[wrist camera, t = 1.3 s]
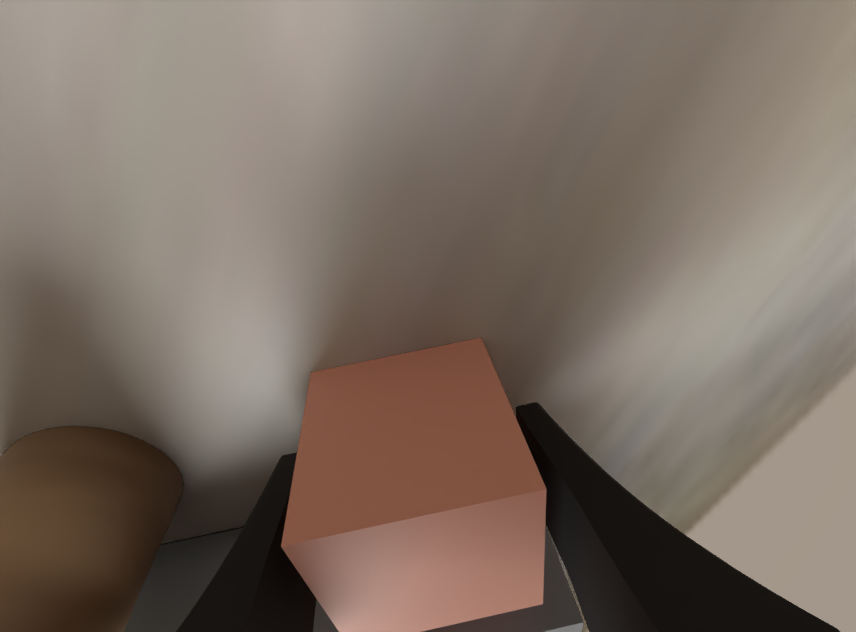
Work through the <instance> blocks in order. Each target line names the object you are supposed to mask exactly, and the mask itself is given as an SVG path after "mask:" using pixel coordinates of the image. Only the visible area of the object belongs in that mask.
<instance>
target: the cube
mask: <svg viewBox="0 0 856 632" xmlns="http://www.w3.org/2000/svg"><path fill="white" fill-rule="evenodd" d="M545 523H546V487H545V484H544V482H543V480H542V477H541V475H540V473H539V470H538V468H537V466H536V463H535V461H534V459H533V456H532V454H531V452H530V450H529V447H528V445H527V443H526V440H525V438H524V436H523V433H522V431H521V429H520V426H519V424H518V422H517V419H516V417H515V415H514V412H513V410H512V408H511V405H510V403H509V401H508V398H507V396H506V394H505V391H504V389H503V387H502V384H501V382H500V380H499V377H498V375H497V373H496V370H495V368H494V366H493V363H492V361H491V359H490V356H489V354H488V352H487V350H486V347H485V345H484V343H483V340H482V338H477V339H472V340H467V341H462V342H457V343H452V344H447V345H442V346H437V347H433V348H428V349H423V350H418V351H413V352H408V353H403V354H398V355H393V356H388V357H383V358H378V359H373V360H369V361H364V362H359V363H354V364H349V365H344V366H339V367H334V368H329V369H324V370H319V371H314V372H311V375H310V381H309V386H308V392H307V398H306V404H305V410H304V415H303V421H302V427H301V433H300V439H299V445H298V450H297V456H296V462H295V468H294V474H293V479H292V485H291V491H290V497H289V503H288V509H287V514H286V520H285V526H284V532H283V538H282V543H281V547H282V549H283V550H284V552H285V553H286V555H287V556H288V558H289V559H290V561H291V562H292V564H293V565H294V566H295V568H296V569H297V571H298V572H299V574H300V575H301V577H302V578H303V580H304V581H305V583H306V584H307V586H308V587H309V589H310V590H311V591H312V593H313V594H314V596H315V597H316V599H317V600H318V602H319V603H320V605H321V606H322V608H323V609H324V611H325V612H326V613H327V615H328V616H329V618H330V619H331V621H332V622H333V624H334V625H335V627H336V628H337V630H338V631H339V632H422V631H427V630H431V629H435V628H440V627H444V626H449V625H453V624H458V623H462V622H466V621H471V620H475V619H480V618H484V617H488V616H493V615H497V614H502V613H506V612H510V611H515V610H519V609H524V608H528V607H532V606H537V605H541V604H543V589H544V556H545Z"/></svg>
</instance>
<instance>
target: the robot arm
mask: <svg viewBox="0 0 856 632" xmlns="http://www.w3.org/2000/svg"><path fill="white" fill-rule="evenodd" d="M516 419H517V422H518V424H519V426H520V429H521V431H522V433H523V436H524V438H525V440H526V443H527V445H528V447H529V450H530V452H531V454H532V456H533V459H534V461H535V463H536V466H537V468H538V470H539V473H540V475H541V477H542V480H543V482H544V484H545V487H546V525H547V527H548V530H549V532H550V534H551V536H552V538H553V541H554V543H555V545H556V547H557V549H558V552H559V554H560V556H561V558H562V560H563V562H564V565H565V567H566V570H567V572H568V574H569V577H570V579H571V582H572V584H573V587H574V590H575V593H576V595H577V598H578V601H579V604H580V607H581V609H582V612H583V615H584V618H585V620H586V623H587V626H588V629H589V632H840V631H839V630H838V629H837V628H835V627H833V626H831V625H829V624H828V623H826V622H824V621H822V620H821V619H819V618H817V617H815V616H814V615H812V614H810V613H808V612H806V611H805V610H803V609H801V608H799V607H798V606H796V605H794V604H792V603H791V602H789V601H787V600H786V599H784V598H782V597H781V596H779V595H777V594H776V593H774V592H772V591H770V590H769V589H767V588H766V587H764V586H762V585H761V584H759V583H757V582H756V581H754V580H753V579H751V578H749V577H748V576H746V575H745V574H743V573H741V572H740V571H738V570H736V569H735V568H733V567H732V566H730V565H729V564H727V563H726V562H724V561H723V560H721V559H720V558H718V557H717V556H715V555H714V554H712V553H711V552H709V551H708V550H706V549H705V548H703V547H702V546H701V545H699V544H697V543H696V542H695V541H693V540H692V539H690V538H689V537H687V536H686V535H684V534H683V533H682V532H680V531H679V530H678V529H676V528H675V527H673V526H672V525H671V524H669V523H668V522H667V521H665V520H664V519H662V518H661V517H660V516H659V515H657V514H656V513H655V512H653V511H652V510H651V509H650V508H648V507H647V506H646V505H644V504H643V503H642V502H641V501H639V500H638V499H637V498H636V497H634V496H633V495H632V494H631V493H630V492H628V491H627V490H626V489H625V488H624V487H623V486H621V485H620V484H619V483H618V482H617V481H616V480H615V479H613V478H612V477H611V476H610V475H609V474H608V473H607V472H605V471H604V470H603V469H602V468H601V467H600V466H599V465H598V464H597V463H596V462H595V461H594V460H593V459H592V458H590V457H589V456H588V455H587V454H586V453H585V452H584V451H583V450H582V449H581V448H580V447H579V446H578V445H577V444H576V443H575V442H574V441H573V440H572V439H571V438H570V437H569V436H568V435H567V434H566V433H565V432H564V431H563V430H562V429H561V428H560V426H559V425H558V424H557V423H556V422H555V421H554V420H553V419H552V418H551V417H550V416H549V414H548V413H547V412H546V411H545V410H544V409H543V408H542V406H541V405H540V404H538V403H537V402H536V403H531V404H526V405H521V406H517V407H516ZM296 456H297V453H293V454H288V455H284V456H282V457H281V458H280V460H279V462H278V464H277V466H276V468H275V469H274V471H273V473H272V475H271V477H270V479H269V481H268V483H267V485H266V487H265V489H264V491H263V493H262V495H261V496H260V498H259V500H258V502H257V504H256V506H255V508H254V509H253V511H252V513H251V515H250V517H249V518H248V520H247V522H246V524H245V525H244V527H243V529H242V531H241V533H240V534H239V536H238V538H237V540H236V541H235V543H234V545H233V546H232V548H231V549H230V551H229V553H228V554H227V556H226V558H225V559H224V561H223V562H222V564H221V566H220V567H219V569H218V571H217V572H216V574H215V575H214V577H213V579H212V580H211V582H210V583H209V585H208V586H207V588H206V589H205V591H204V592H203V594H202V595H201V597H200V598H199V600H198V601H197V603H196V604H195V606H194V607H193V608H192V610H191V611H190V613H189V614H188V616H187V617H186V618H185V620H184V621H183V623H182V624H181V625H180V627H179V628H178V630H177V631H176V632H313V627H314V616H315V608H316V597H315V596H314V594H313V593H312V591H311V590H310V589H309V587H308V586H307V584H306V583H305V581H304V580H303V578H302V577H301V575H300V574H299V572H298V571H297V569H296V568H295V566H294V565H293V564H292V562H291V561H290V559H289V558H288V556H287V555H286V553H285V552H284V550H283V549H282V547H281V543H282V538H283V532H284V526H285V520H286V514H287V509H288V503H289V497H290V491H291V485H292V479H293V474H294V468H295V462H296Z"/></svg>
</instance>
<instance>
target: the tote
mask: <svg viewBox="0 0 856 632" xmlns="http://www.w3.org/2000/svg"><path fill="white" fill-rule="evenodd" d="M242 529H243V528H238V529H234V530H229V531H225V532H220V533H215V534H211V535H206V536H201V537H197V538H192V539H188V540H183V541H178V542H174V543H169V544H164V545H160V547H159V549H158V551H157V554H156V556H155V559H154V561H153V563H152V566H151V568H150V570H149V573H148V575H147V578H146V580H145V582H144V585H143V587H142V589H141V592H140V594H139V596H138V599H137V601H136V604H135V606H134V608H133V611H132V613H131V615H130V618H129V620H128V623H127V625H126V627H125V630H124V632H176V631H177V630H178V628H179V627H180V625H181V624H182V623H183V621H184V620H185V618H186V617H187V616H188V614H189V613H190V611H191V610H192V608H193V607H194V606H195V604H196V603H197V601H198V600H199V598H200V597H201V595H202V594H203V592H204V591H205V589H206V588H207V586H208V585H209V583H210V582H211V580H212V579H213V577H214V575H215V574H216V572H217V571H218V569H219V567H220V566H221V564H222V562H223V561H224V559H225V558H226V556H227V554H228V553H229V551H230V549H231V548H232V546H233V545H234V543H235V541H236V540H237V538H238V536H239V534H240V533H241V531H242ZM583 623H584V622H583V620H582V617H581V615H580V612H579V610H578V607H577V605H576V602H575V599H574V597H573V594H572V592H571V589H570V587H569V584H568V582H567V579H566V577H565V574H564V572H563V569H562V567H561V564H560V562H559V559H558V557H557V554H556V551H555V549H554V546H553V544H552V541H551V539H550V536H549V534H548V531H547V529H546V526H545V556H544V589H543V604H541V605H537V606H532V607H528V608H524V609H519V610H515V611H510V612H506V613H502V614H497V615H493V616H488V617H484V618H480V619H475V620H471V621H466V622H462V623H458V624H453V625H449V626H444V627H440V628H435V629H431V630H427V631H422V632H582V628H583ZM313 632H339V631H338V630H337V628H336V627H335V625H334V624H333V622H332V621H331V619H330V618H329V616H328V615H327V613H326V612H325V611H324V609H323V608H322V606H321V605H320V603H319V602H318V600H317V599H316V608H315V616H314V627H313Z"/></svg>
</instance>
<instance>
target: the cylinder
mask: <svg viewBox="0 0 856 632" xmlns="http://www.w3.org/2000/svg"><path fill="white" fill-rule="evenodd" d="M182 491H183V480H182V476H181V474H180V471H179V469H178V468H177V467H176V465H175V464H174V463H173V462H172V460H171V459H170V458H169V457H167V456H166V455H165V454H164V453H163V452H161V451H160V450H158V449H157V448H155V447H154V446H152V445H150V444H148V443H146V442H144V441H142V440H140V439H137V438H135V437H133V436H130V435H127V434H124V433H120V432H116V431H112V430H107V429H101V428H94V427H83V426H68V427H56V428H49V429H45V430H41V431H37V432H34V433H31V434H29V435H26V436H24V437H23V438H21V439H19V440H18V441H16V442H15V443H14V444H13V445H11V446H10V448H9V449H8V450H7V451H6V452H5V453H4V454H3V455H2V456H1V457H0V632H124V630H125V627H126V625H127V623H128V620H129V618H130V615H131V613H132V611H133V608H134V606H135V604H136V601H137V599H138V596H139V594H140V592H141V589H142V587H143V585H144V582H145V580H146V578H147V575H148V573H149V570H150V568H151V566H152V563H153V561H154V559H155V556H156V554H157V551H158V549H159V547H160V544H161V542H162V540H163V537H164V535H165V533H166V530H167V528H168V525H169V523H170V521H171V518H172V516H173V514H174V511H175V509H176V506H177V504H178V502H179V499H180V497H181V495H182Z"/></svg>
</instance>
